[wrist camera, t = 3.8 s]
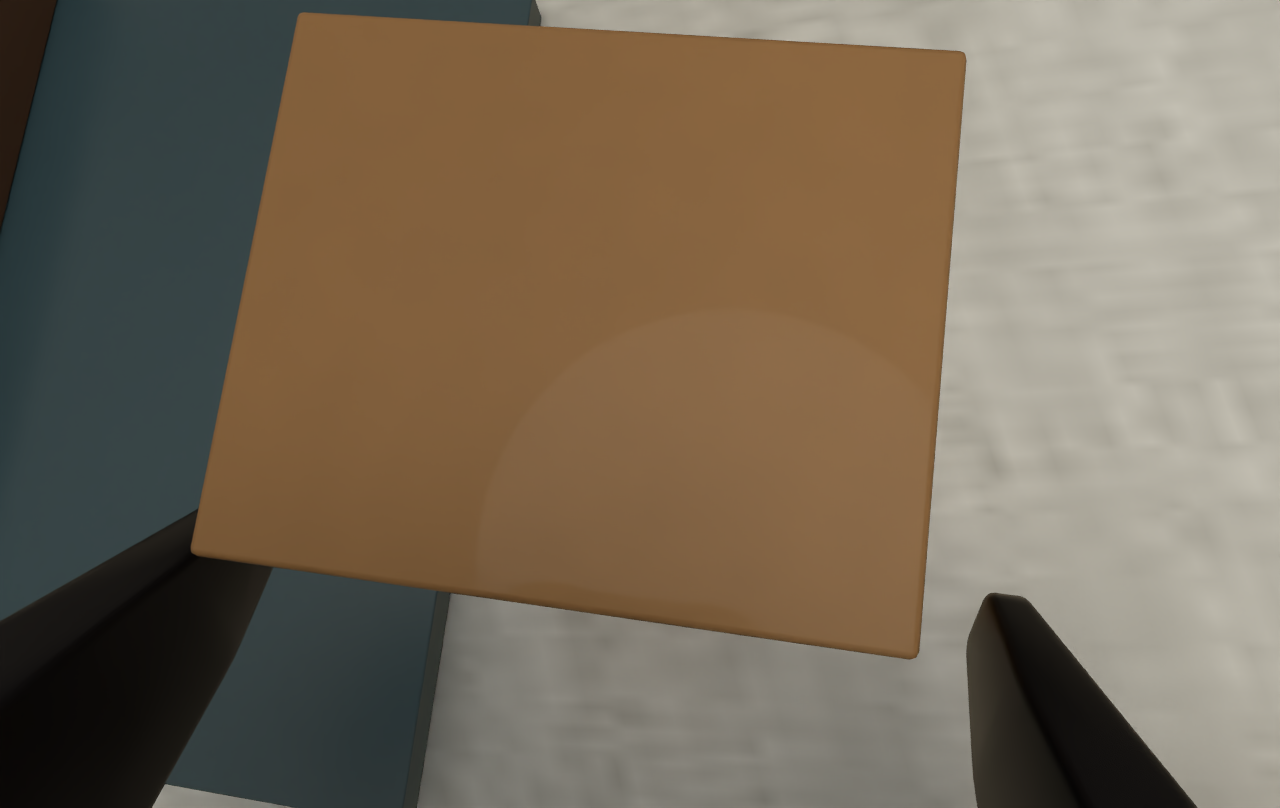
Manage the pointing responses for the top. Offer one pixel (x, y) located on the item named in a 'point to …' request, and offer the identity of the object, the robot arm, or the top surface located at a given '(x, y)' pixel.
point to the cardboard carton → (598, 325)
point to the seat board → (180, 366)
